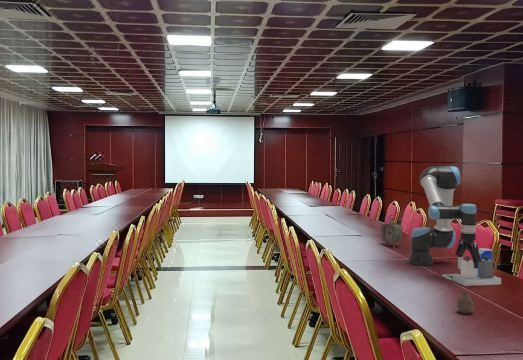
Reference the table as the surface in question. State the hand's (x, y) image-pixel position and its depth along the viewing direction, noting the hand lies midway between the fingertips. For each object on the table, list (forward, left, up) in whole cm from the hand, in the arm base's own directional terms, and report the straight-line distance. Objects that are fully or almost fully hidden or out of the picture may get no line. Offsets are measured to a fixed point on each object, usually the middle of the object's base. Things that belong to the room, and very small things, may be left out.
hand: (467, 271), depth 267 cm
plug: (0, 0, -6) cm, 6 cm away
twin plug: (0, +11, -6) cm, 13 cm away
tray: (-11, -1, -7) cm, 14 cm away
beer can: (-14, +20, -7) cm, 26 cm away
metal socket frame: (0, +6, -7) cm, 9 cm away
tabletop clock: (-117, +10, -7) cm, 118 cm away
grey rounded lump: (+46, -30, -7) cm, 55 cm away
